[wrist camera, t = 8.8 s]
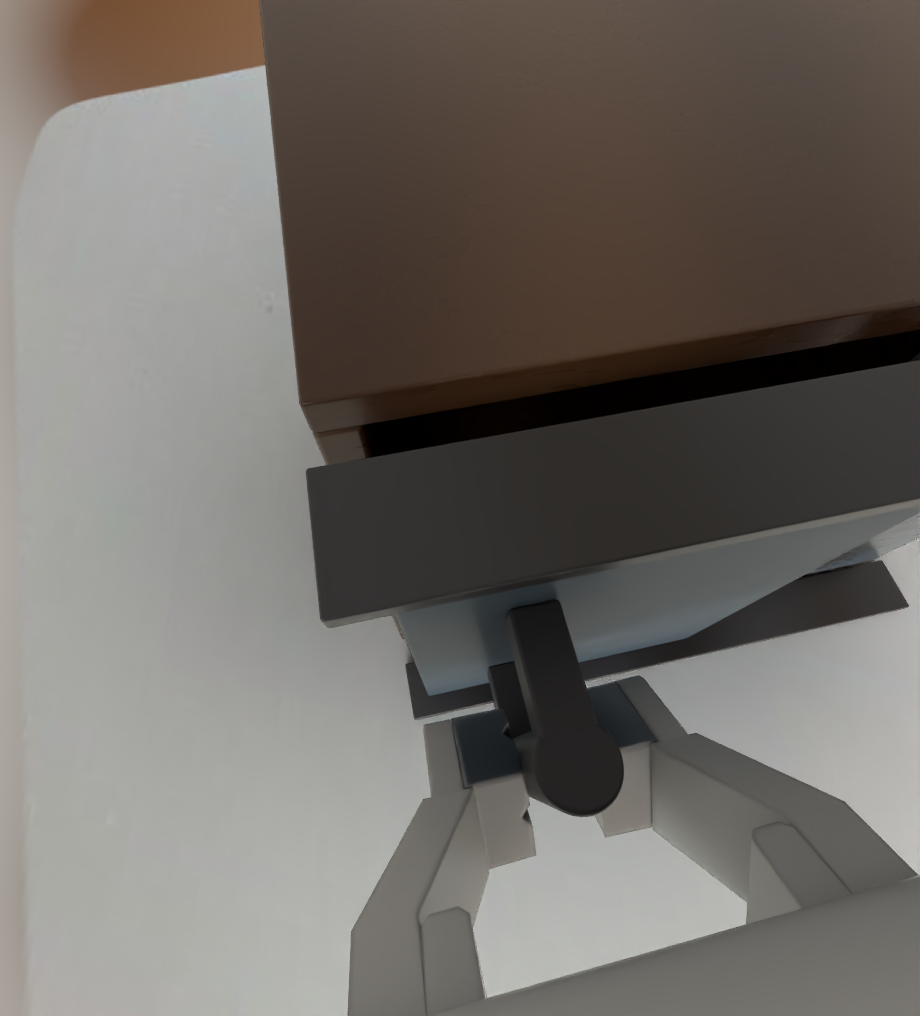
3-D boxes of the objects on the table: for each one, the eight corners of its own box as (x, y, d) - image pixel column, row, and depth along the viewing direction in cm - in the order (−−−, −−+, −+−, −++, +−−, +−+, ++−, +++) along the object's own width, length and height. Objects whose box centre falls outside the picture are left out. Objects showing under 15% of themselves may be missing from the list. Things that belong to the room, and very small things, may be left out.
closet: (415, 720, 15) (320, 621, 5) (360, 389, 21) (256, -19, 10) (903, 608, 17) (1682, 340, 6) (736, 327, 22) (1001, -83, 11)
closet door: (447, 805, 14) (428, 903, 4) (424, 675, 15) (370, 526, 6) (726, 736, 15) (1251, 685, 5) (680, 619, 16) (1017, 403, 6)
